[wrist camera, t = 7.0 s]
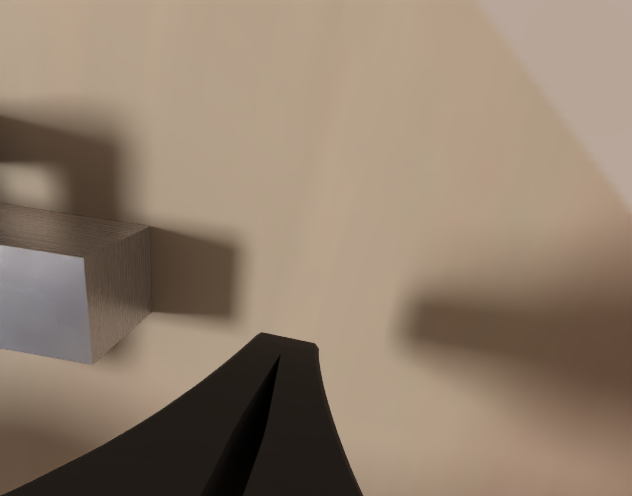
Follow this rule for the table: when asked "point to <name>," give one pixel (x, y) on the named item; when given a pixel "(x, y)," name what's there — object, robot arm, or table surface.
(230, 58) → the table surface
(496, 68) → the table surface
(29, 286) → the brushed steel block
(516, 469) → the table surface
